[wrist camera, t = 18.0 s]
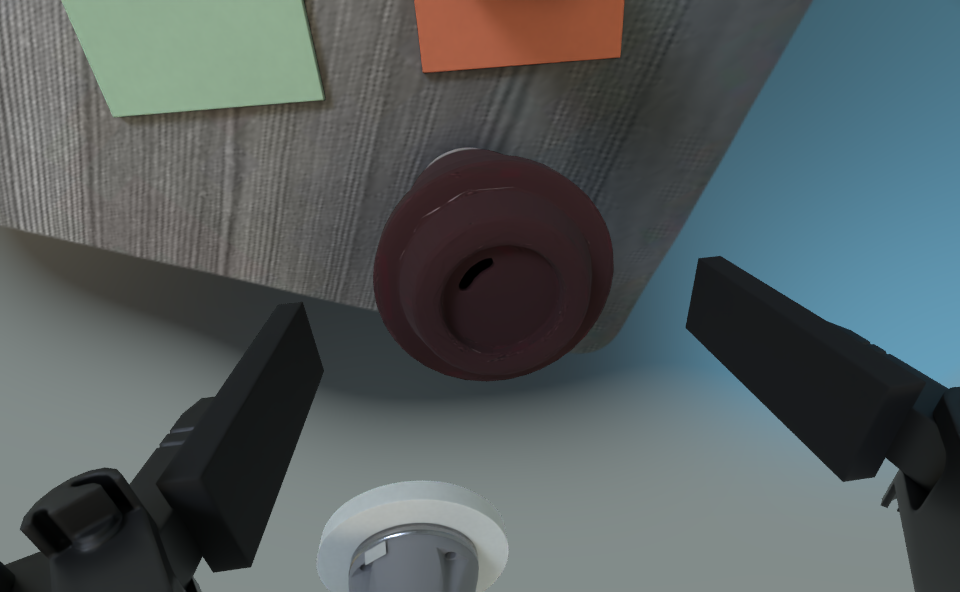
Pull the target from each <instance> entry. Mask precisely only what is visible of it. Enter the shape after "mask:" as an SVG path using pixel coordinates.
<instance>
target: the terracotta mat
mask: <svg viewBox="0 0 960 592" xmlns="http://www.w3.org/2000/svg"><path fill="white" fill-rule="evenodd" d="M414 2H415V11H416V19H417V27H418V36H419V44H420V53H421V61H422V69H423V73H431V72H443V71H456V70H468V69H481V68H493V67H506V66H519V65H531V64H544V63H556V62H569V61H581V60H594V59H607V58H618V57H620V54H621V40H622V27H623V13H624V0H414Z"/></svg>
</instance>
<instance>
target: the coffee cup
mask: <svg viewBox="0 0 960 592" xmlns="http://www.w3.org/2000/svg"><path fill="white" fill-rule="evenodd" d="M612 277H613V249H612V243H611V238H610V235H609V231H608V229H607V226H606V223H605V221H604V220H603V218H602V216H601V214H600V212H599V211H598V209H597V208H596V206H595V205H594V203H593V202H592V201H591V200H590V198H589V197H588V196H587V195H586V194H585V193H584V192H583V191H582V190H581V189H580V188H579V187H578V186H577V185H575V184H574V183H573V182H571V181H570V180H568V179H567V178H566V177H564V176H563V175H561V174H560V173H558V172H557V171H555V170H553V169H551V168H549V167H548V166H546V165H544V164H541V163H538V162H536V161H533V160H530V159H526V158H522V157H518V156H508V155H503V154H500V153H497V152H494V151H490V150H484V149H479V148H459V149H454V150H452V151H449V152H446V153H444V154H442V155H440V156H439V157H437V158H436V159H435V160H433V161H432V162H431V163H430V164H429V165H428V166H427V168H426V169H425V170H424V171H423V172H422V173H421V175H420V176H419V177H418V179H417V180H416V181H415V183H414V185H413V187H412V188H411V190H410V191H409V192H408V193H407V194H406V195H405V196H404V197H403V198H402V200H401V201H400V202H399V203H398V205H397V206H396V207H395V209H394V210H393V212H392V214H391V215H390V217H389V219H388V221H387V223H386V225H385V227H384V230H383V232H382V235H381V238H380V242H379V245H378V249H377V253H376V257H375V263H374V272H373V283H374V293H375V299H376V304H377V307H378V310H379V313H380V315H381V317H382V320H383V322H384V324H385V326H386V327H387V329H388V331H389V333H390V334H391V335H392V337H393V338H394V339H395V341H396V342H397V343H398V344H399V345H400V346H401V347H402V349H404V350H405V351H406V352H407V353H408V354H409V355H410V356H412V357H413V358H414V359H416V360H417V361H419V362H420V363H422V364H423V365H425V366H427V367H429V368H431V369H433V370H435V371H438V372H440V373H442V374H444V375H448V376H452V377H456V378H460V379H464V380H475V381H496V380H506V379H512V378H515V377H519V376H523V375H527V374H529V373H532V372H535V371H537V370H540V369H542V368H544V367H545V366H547V365H549V364H551V363H553V362H555V361H557V360H558V359H559V358H561V357H562V356H564V355H565V354H566V353H568V352H569V351H570V350H572V349H573V348H574V347H575V346H576V345H577V344H578V343H579V342H580V341H581V340H582V339H583V338H584V337H585V336H586V335H587V333H588V332H589V330H590V329H591V328H592V326H593V325H594V323H595V322H596V321H597V319H598V318H599V316H600V314H601V312H602V310H603V308H604V305H605V303H606V300H607V297H608V295H609V292H610V288H611V283H612Z"/></svg>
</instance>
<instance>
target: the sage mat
mask: <svg viewBox="0 0 960 592" xmlns="http://www.w3.org/2000/svg"><path fill="white" fill-rule="evenodd" d="M61 1H62V3H63V5H64V7H65V10H66V12H67V14H68V16H69V19H70V21H71V23H72V25H73V28H74V30H75V32H76V34H77V37H78V39H79V41H80V44H81V46H82V48H83V50H84V53H85V55H86V57H87V59H88V62H89V64H90V66H91V68H92V71H93V73H94V75H95V77H96V80H97V82H98V84H99V86H100V89H101V91H102V93H103V95H104V98H105V100H106V102H107V104H108V107H109V109H110V111H111V113H112V116H113V117H124V116H136V115H149V114H161V113H173V112H185V111H197V110H209V109H222V108H234V107H246V106H258V105H270V104H282V103H295V102H307V101H319V100H325V95H324V90H323V86H322V81H321V76H320V72H319V67H318V63H317V58H316V54H315V49H314V45H313V40H312V36H311V31H310V27H309V22H308V18H307V13H306V9H305V4H304V0H61Z"/></svg>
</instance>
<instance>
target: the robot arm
mask: <svg viewBox="0 0 960 592" xmlns="http://www.w3.org/2000/svg"><path fill="white" fill-rule="evenodd" d="M686 329H687V330H688V331H689V332H691V333H692V334H693V335H694V336H695V337H696V338H697V339H698V340H699V341H700V342H701V343H702V344H703V345H704V346H705V347H706V348H707V349H708V350H709V351H710V352H711V353H712V354H713V355H714V356H715V357H716V358H717V359H718V360H719V361H720V362H721V363H722V364H723V365H724V366H725V367H726V368H727V369H728V370H729V371H730V372H732V374H733V375H734V376H735V377H736V378H737V379H739V381H741V382H742V383H743V384H744V385H745V386H746V387H747V388H748V389H749V390H750V391H751V392H752V393H753V394H754V395H755V396H756V397H757V398H758V399H759V400H760V401H761V402H762V403H763V404H764V405H765V406H766V407H767V408H768V409H769V410H770V411H771V412H772V413H773V414H774V415H775V416H776V417H777V418H778V419H779V420H780V421H782V422H783V424H784V425H786V427H787V428H789V429H790V430H791V431H792V432H793V433H794V434H795V435H796V436H797V437H798V438H799V439H800V440H801V441H802V442H803V443H804V444H805V445H806V446H807V447H808V448H809V449H810V450H811V451H812V452H813V453H814V454H815V455H816V456H817V457H818V458H819V459H820V460H821V461H822V462H823V463H824V464H825V465H826V466H827V467H828V468H829V469H830V470H832V471H833V473H834V474H836V475H837V476H838V477H839V478H840V479H841V480H842V481H843V482H845V481H852V480H859V479H865V478H872V477H875V476H876V474H877V472H878V470H879V468H880V466H881V465H882V463H883V461H884V459H885V457H886V458H887V459H888V460H889V461H890V462H892V463H893V464H894V465H895V466H896V467H898V468H899V471H898V472H897V474H896V476H895V478H894V479H893V481H892V483H891V484H890V486H889V488H888V490H887V491H886V493H885V495H884V497H883V498H882V503H881V505H882V506H884V507H887V508H888V506H889V504H890V503H891V501H892V500H894V499H897V501H898V506H899V508H898V510H897V511H898V512H900V516H901V521H902V527H903V531H904V537H905V542H906V547H907V552H908V558H909V563H910V568H911V573H912V578H913V584H914V589H915V592H960V387H953V388H950V389H948V388H946V387H945V386H943V385H941V384H940V383H938V382H936V381H934V380H933V379H931V378H929V377H928V376H926V375H924V374H923V373H921V372H919V371H918V370H916V369H914V368H913V367H911V366H909V365H908V364H906V363H904V362H903V361H901V360H899V359H898V358H896V357H894V356H893V355H891V354H886V351H884V350H883V349H881V348H879V347H878V346H876V345H874V344H870V342H869V341H868V340H866V339H864V338H863V337H861V336H859V335H858V334H856V333H854V332H853V331H851V330H848V329H846V328H843V327H841V326H838V325H835V324H833V323H830V322H828V321H826V320H824V319H822V318H821V317H819V316H817V315H816V314H814V313H813V312H811V311H809V310H808V309H806V308H804V307H803V306H801V305H800V304H798V303H796V302H794V301H793V300H791V299H789V298H788V297H786V296H785V295H783V294H782V293H780V292H778V291H777V290H775V289H773V288H772V287H770V286H768V285H767V284H765V283H764V282H762V281H760V280H759V279H757V278H755V277H754V276H752V275H750V274H749V273H747V272H746V271H744V270H742V269H741V268H739V267H737V266H736V265H734V264H732V263H731V262H729V261H728V260H726V259H724V258H723V257H721V256H717V257H708V258H699V259H698V264H697V269H696V275H695V281H694V286H693V291H692V296H691V302H690V307H689V312H688V317H687V323H686ZM323 372H324V370H323V366H322V363H321V360H320V357H319V353H318V350H317V347H316V344H315V340H314V338H313V334H312V331H311V328H310V324H309V321H308V318H307V315H306V311H305V308H304V305H303V302H298V303H289V304H281V305H278V306H277V307H276V309H275V310H274V311H273V313H272V314H271V316H270V317H269V319H268V320H267V322H266V323H265V325H264V326H263V327H262V329H261V330H260V332H259V333H258V335H257V336H256V338H255V339H254V341H253V342H252V344H251V345H250V347H249V348H248V349H247V351H246V352H245V354H244V355H243V357H242V358H241V360H240V361H239V363H238V364H237V365H236V367H235V368H234V370H233V371H232V373H231V374H230V376H229V377H228V379H227V380H226V382H225V383H224V385H223V386H222V387H221V389H220V390H219V392H218V393H217V395H216V396H215V397H209V398H202V399H200V400H199V401H198V402H197V403H196V404H194V405H193V406H192V407H190V408H189V409H188V410H187V411H185V412H184V413H183V414H182V415H181V416H180V418H179V419H178V421H177V422H176V423H175V425H174V426H173V427H172V429H171V430H170V434H167V435H166V437H165V438H164V439H163V441H162V442H161V443H160V448H157V449H156V450H155V451H154V453H153V454H152V455H151V457H150V458H149V459H148V461H147V462H146V463H145V465H144V466H143V467H142V469H141V470H140V471H139V473H138V474H137V475H136V477H135V478H134V479H133V481H132V482H131V483H130V485H129V484H128V483H127V481H126V480H125V478H124V477H123V475H122V474H121V473H120V472H119V471H118V470H117V469H111V468H101V469H96V470H91V471H88V472H85V473H83V474H80V475H78V476H75V477H73V478H70V479H69V480H67V481H66V482H64V483H62V484H61V485H59V486H57V487H56V488H54V489H52V490H51V491H50V492H48V493H47V494H46V495H45V496H43V497H42V498H41V499H40V500H39V501H38V502H36V503H35V504H34V506H33V507H32V508H31V509H30V510H29V512H28V513H27V514H26V515H25V516H24V518H23V521H22V524H21V528H20V530H21V531H22V532H23V533H24V534H25V535H26V536H27V537H28V538H29V539H30V540H31V541H32V542H33V544H34V545H35V546H36V547H37V548H38V549H39V550H40V551H41V552H38V553H35V554H33V555H30V556H27V557H25V558H22V559H19V560H17V561H14V562H12V563H9V564H6V565H4V564H3V563H1V562H0V592H201V589H200V587H199V584H198V583H197V582H196V580H195V579H194V577H193V575H194V573H195V571H196V569H197V566H198V564H199V562H200V560H201V558H202V556H203V558H204V559H205V561H206V562H207V564H208V565H209V567H210V568H211V570H212V571H213V572H220V571H227V570H234V569H241V568H247V567H251V566H252V563H253V560H254V557H255V554H256V552H257V549H258V547H259V544H260V541H261V538H262V536H263V533H264V531H265V528H266V525H267V522H268V520H269V517H270V514H271V512H272V509H273V506H274V504H275V501H276V498H277V496H278V493H279V490H280V488H281V485H282V482H283V480H284V477H285V474H286V472H287V468H288V466H289V463H290V461H291V458H292V455H293V452H294V450H295V447H296V444H297V442H298V439H299V436H300V434H301V431H302V429H303V426H304V423H305V420H306V418H307V415H308V412H309V410H310V407H311V404H312V401H313V399H314V396H315V393H316V391H317V388H318V386H319V383H320V380H321V377H322V375H323ZM478 572H479V564H478V554H477V550H476V547H475V545H474V544H473V542H472V541H471V540H470V539H469V538H468V537H467V536H466V535H464V534H463V533H461V532H459V531H457V530H455V529H453V528H450V527H447V526H443V525H439V524H432V523H409V524H402V525H397V526H393V527H390V528H387V529H384V530H381V531H379V532H377V533H375V534H373V535H372V536H370V537H368V538H367V539H366V540H364V541H363V542H362V543H361V544H360V545H359V546H358V547H357V549H356V550H355V551H354V553H353V555H352V558H351V563H350V569H349V580H348V585H349V592H476V587H477V582H478Z"/></svg>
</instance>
